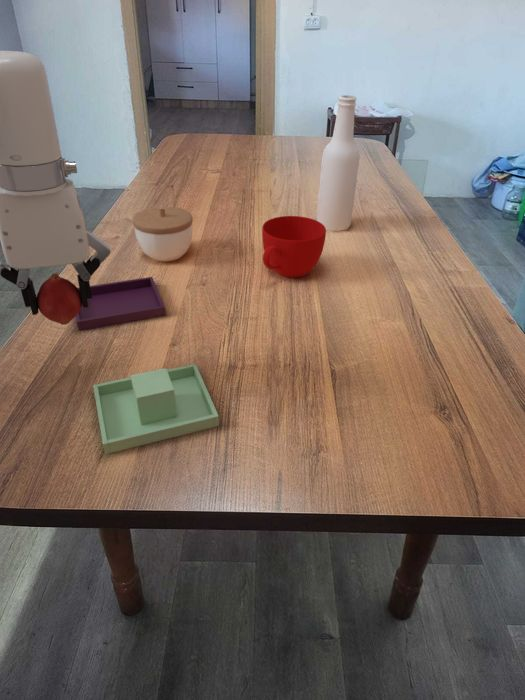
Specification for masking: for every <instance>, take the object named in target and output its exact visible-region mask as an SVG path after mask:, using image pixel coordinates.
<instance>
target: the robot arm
mask: <svg viewBox="0 0 525 700" xmlns="http://www.w3.org/2000/svg"><path fill="white" fill-rule="evenodd" d="M72 174H78V168H77V163H76V161H75V160H72V161H70V160H68V159H67V160H66V158H63V156H62V151H61V146H60V140H59V135H58V130H57V123H56V119H55V113H54V107H53V102H52V97H51V92H50V85H49V81H48V75H47V71H46V68H45V65H44V63H43V61H42V59H40V57H38V56H37V55H35V54H33V53H30V52H25V51H20V50H0V276H1V278H3V279H4V280H6V281H8V282H10V283H11V284H13V285H15V286H16V288H17V289H19V290H20V291H21V295H22V300H23V303H24V306H25V308H30V310H31V314H32V316H36V315H38V314H39V309H38V305H37V300H36V298H37V293H36V290H35V286H34V282H33V281H34V280H33V279H32V280H31V278H30V272H31V269H39V268H49V267H57V266H65V265H72V267H73V269H74V270H75V271H76V273H77V274H76V277H77V281H78V288H80V294H81V299H82V304H83V307H85V308H87V307H88V301H87V299H90V298H92V294H91V288H90V286H91V284H90V280H91V278H92V276H93V275H94V274H95V272H96V271H97V270H98V269H99V268H100V266H101V264H102V263H104V261H105V260H106V259H107V258H108V257H109V256H110V254H111V252H112V251H111V247H110V246H109V245H108V244H106V243H105V242H104V241H103V240H101V239H100V238H98V237H97V236H95V235H94V234H93V233H92V232H90V231H89V230H87V227H86V221H85V218H84V217H85V216H84V213H83V209H82V205H81V202H80V198H79V195H78V192H77V189H76V187H75V184H74V182H73V180H72V179H69V175H72ZM90 248H92V249H93V250H94V251H95V252H94V253H93V255H91V256H90ZM3 257H4V259H5V262H6V264H5V263H4V262H3V261H1V259H2V258H3Z"/></svg>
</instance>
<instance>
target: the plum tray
mask: <svg viewBox="0 0 525 700" xmlns="http://www.w3.org/2000/svg"><path fill="white" fill-rule="evenodd" d="M77 288H78V290H79V291H80V288H79V287H77ZM90 288H91V294H92V298H90V299H87V301H88V307H87V308H85V307H83V304H82V307H81V309H80V311H79V313H78V314H77V315H76V316H75V321H76V326H77V329H78V331H79V332H82V331H87V330H93V329H99V328H103V327H104V328H105V327H109V326H116V325H120V324H126V323H132V322H138V321H143V320H149V319H155V318H160V317H166V316H167V313H166V306H165V304H164V302H163V299H162V297H161V294H160V291H159V290H158V287H157V285H156V282H155V280H154V278H153V276H147V277H140V278H133V279H127V280H120V281H114V282H107V283H99V284H94V285H90Z"/></svg>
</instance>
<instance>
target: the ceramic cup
mask: <svg viewBox="0 0 525 700" xmlns="http://www.w3.org/2000/svg"><path fill="white" fill-rule="evenodd" d="M261 229H262V230H261V236H262V247H263V255H262V262H263V265H264V267H265V268H266V269H269V270H273V271H274V272H275V273H276V274H277V275H279V276H281V277H284V278H288V279H297V278H302V277H304V276H306V275H308V273H310V272H311V271H312V270H313V269H315V267H316V265H317V264H318V263H319V261H320V259H321V256H322V254H323V251H324V247H325V243H326V237H327V236H326V235H327V230H326V228H325V226H324V225H323V224H322V223H320V222H318V221H316V219H313V218H310V217H306V216H298V215H283V216H278V217H277V216H276V217H273V218H270V219H268V220H266V221H265V222H264V223H263V224H262V228H261Z"/></svg>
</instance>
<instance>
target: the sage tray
mask: <svg viewBox="0 0 525 700" xmlns="http://www.w3.org/2000/svg"><path fill="white" fill-rule="evenodd" d="M167 371H168V374H169V377H170V380H171V383H172V385H173V388H174V394H175V403H176V412H177V417H173V418H169V419H165V420H160V421H156V422H152V423H148V424H144V425H141V423H140V419H139V415H138V411H137V408H136V404H135V399H134V393H133V387H132V382H131V376H130V377H129V376H128V377H125V378H120V379H115V380H111V381H105V382H101V383H95V384H93V386H92V387H93V393H94V399H95V405H96V412H97V417H98V423H99V424H98V425H99V430H100V435H101V442H102V447H103V451H104V454H105V455H109V454H113V453H117V452H120V451H124V450H129V449H132V448H137V447H140V446H144V445H148V444H152V443H158V442H161V441H165V440H169V439H172V438H176V437H180V436H185V435H188V434H193V433H197V432H200V431H204V430H209V429H212V428H216V427H219V426H220V415H219V413H218V411H217V409H216V407H215V404H214V402H213V400H212V398H211V397H212V396H211V395H210V393H209V390H208V388H207V386H206V384H205V382H204V378H203V377H202V375H201V373H200V372H201V371H200V370H199V368H198V365H197V363H192V364H188V365H183V366H178V367H173V368H168V369H167Z"/></svg>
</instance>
